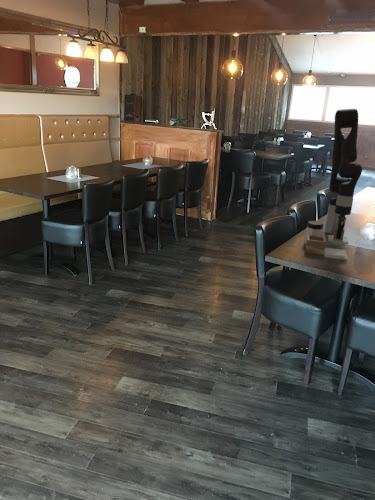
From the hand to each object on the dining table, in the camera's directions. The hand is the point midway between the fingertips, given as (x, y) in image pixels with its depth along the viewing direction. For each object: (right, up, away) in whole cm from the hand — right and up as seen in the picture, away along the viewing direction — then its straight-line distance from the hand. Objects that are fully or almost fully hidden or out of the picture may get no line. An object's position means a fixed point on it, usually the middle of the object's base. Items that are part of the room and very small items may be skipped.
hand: (338, 237), depth 209 cm
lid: (0, -3, +1) cm, 3 cm away
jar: (-8, -3, +17) cm, 19 cm away
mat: (0, -9, +3) cm, 9 cm away
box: (-10, -7, +6) cm, 14 cm away
